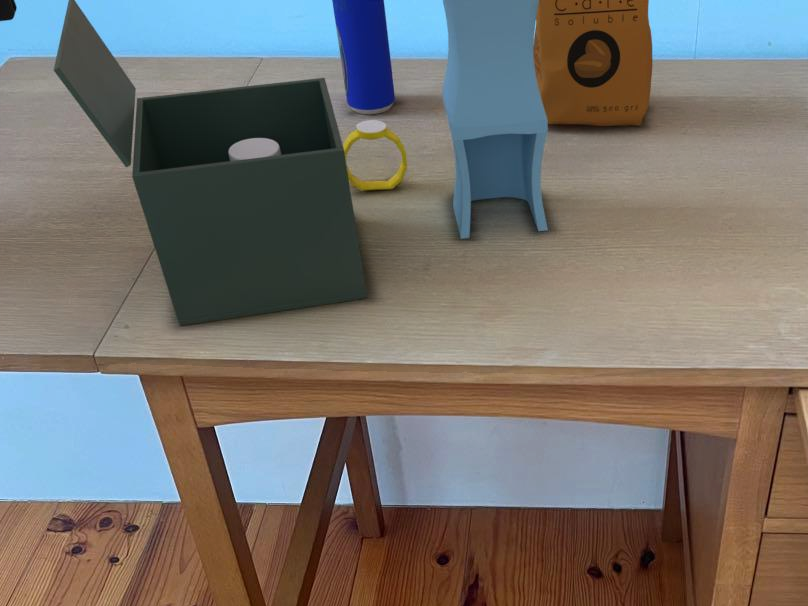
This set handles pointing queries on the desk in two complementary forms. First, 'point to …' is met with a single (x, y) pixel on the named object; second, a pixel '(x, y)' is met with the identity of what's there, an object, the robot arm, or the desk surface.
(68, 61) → the box flap
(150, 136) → the open box
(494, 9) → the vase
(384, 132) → the watch
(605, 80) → the coffee package
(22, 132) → the desk surface
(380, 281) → the desk surface
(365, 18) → the beverage can
